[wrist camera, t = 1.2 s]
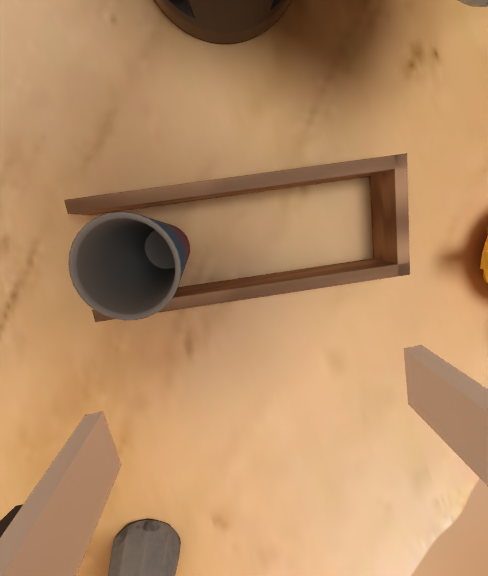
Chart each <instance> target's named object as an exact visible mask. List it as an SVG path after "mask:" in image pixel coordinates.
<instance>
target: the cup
mask: <svg viewBox="0 0 488 576" xmlns="http://www.w3.org/2000/svg"><path fill="white" fill-rule="evenodd" d="M189 253H190V244H189V241H188V238H187V236H186V235H185V234H184V232H182V231H181V230H180V229H179V228H177V227H175V226H172V225H169V224H166V223H163V222H160V221H157V220H154V219H151V218H148V217H145V216H142V215H139V214H135V213H129V212H113V213H108V214H104V215H101V216H99V217H97V218H95V219H93V220H92V221H90V222H89V223H87V224H86V225H85V226H84V227H83V228H82V229H81V230H80V232H79V233H78V234H77V236H76V238H75V239H74V241H73V243H72V246H71V250H70V253H69V271H70V276H71V279H72V282H73V285H74V287H75V288H76V290H77V292H78V294H79V295H80V296H81V298H82V299H83V300H84V301H85V302H86V303H87V304H88V305H89V306H91V307H92V308H93V309H94V310H96V311H98V312H99V313H101V314H103V315H105V316H108V317H111V318H114V319H120V320H138V319H142V318H146V317H149V316H151V315H153V314H155V313H157V312H158V311H160V310H161V309H163V308H164V307H165V306H166V305H167V304H168V303H169V302H170V301H171V299H172V297H173V296H174V294H175V293H176V290H177V288H178V285H179V282H180V279H181V276H182V274H183V271H184V268H185V265H186V262H187V259H188V256H189Z"/></svg>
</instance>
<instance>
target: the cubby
mask: <svg viewBox="0 0 488 576" xmlns="http://www.w3.org/2000/svg"><path fill="white" fill-rule="evenodd" d="M369 176H370V187H371V208H372V228H373V249H374V259H367V260H360V261H353V262H347V263H340V264H333V265H326V266H320V267H313V268H306V269H300V270H293V271H286V272H279V273H273V274H266V275H259V276H252V277H246V278H239V279H232V280H225V281H219V282H212V283H205V284H199V285H192V286H185V287H178V288H177V290H176V293H175V294H174V296H173V297H172V299H171V301H170V302H169V303H168V304H167V305H166V306H165V307H164V308H163V309H161V310H160V311H158V312H164V311H171V310H178V309H184V308H191V307H197V306H204V305H211V304H217V303H224V302H231V301H237V300H244V299H250V298H257V297H264V296H270V295H277V294H283V293H290V292H297V291H303V290H310V289H317V288H323V287H330V286H336V285H343V284H350V283H356V282H363V281H369V280H376V279H383V278H389V277H396V276H403V275H409V274H410V260H409V217H408V175H407V153H406V154H399V155H392V156H384V157H377V158H370V159H362V160H355V161H348V162H340V163H333V164H326V165H318V166H311V167H304V168H296V169H289V170H281V171H274V172H267V173H259V174H252V175H245V176H237V177H230V178H223V179H215V180H208V181H201V182H193V183H186V184H179V185H171V186H164V187H156V188H149V189H142V190H134V191H127V192H120V193H112V194H105V195H98V196H90V197H83V198H76V199H68V200H65V204H66V208H67V212H68V214H82V215H94V214H101V213H108V212H116V211H123V210H130V209H137V208H144V207H152V206H159V205H166V204H173V203H181V202H188V201H195V200H202V199H210V198H217V197H224V196H231V195H239V194H246V193H253V192H260V191H267V190H275V189H282V188H289V187H296V186H304V185H311V184H318V183H325V182H333V181H340V180H347V179H354V178H362V177H369ZM92 311H93V315H94V319H95V322H98V321H105V320H111V319H114V318H111V317H108V316H105V315H103V314H101V313H99V312H98V311H96V310H94V309H93V310H92ZM158 312H157V313H158Z"/></svg>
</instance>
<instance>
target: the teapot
mask: <svg viewBox="0 0 488 576" xmlns="http://www.w3.org/2000/svg"><path fill="white" fill-rule="evenodd" d="M487 234H488V226H487ZM480 269H483V271H484V273H483V280H484V281H485V282H486V283H488V237H487V239H486V242H485V245H484V248H483V252H482V258H481V265H480Z"/></svg>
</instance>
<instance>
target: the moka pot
mask: <svg viewBox="0 0 488 576" xmlns="http://www.w3.org/2000/svg"><path fill="white" fill-rule="evenodd" d="M180 544H181V542H180V538H179V536H178V534H177V533H176V532H175V530H174V529H173V528H171V526H169V525H167V524H165V523H163V522H161V521H156V520H143V521H138V522H134V523H133V524H130V525H129V526H127V527H125V528H124V529H123V530H122V531H121V532H120V533H119V534H118V535H117V537H116V538H115V540H114V542H113V546H112V552H111V559H110V566H109V572H108V576H175V574H176V569H177V564H178V560H179V553H180Z"/></svg>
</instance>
